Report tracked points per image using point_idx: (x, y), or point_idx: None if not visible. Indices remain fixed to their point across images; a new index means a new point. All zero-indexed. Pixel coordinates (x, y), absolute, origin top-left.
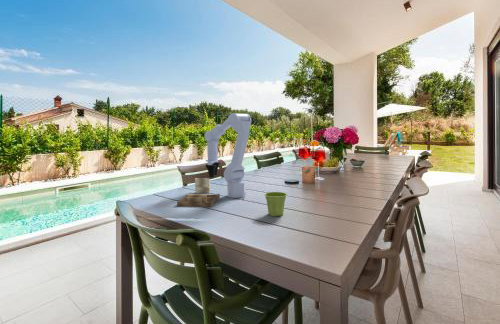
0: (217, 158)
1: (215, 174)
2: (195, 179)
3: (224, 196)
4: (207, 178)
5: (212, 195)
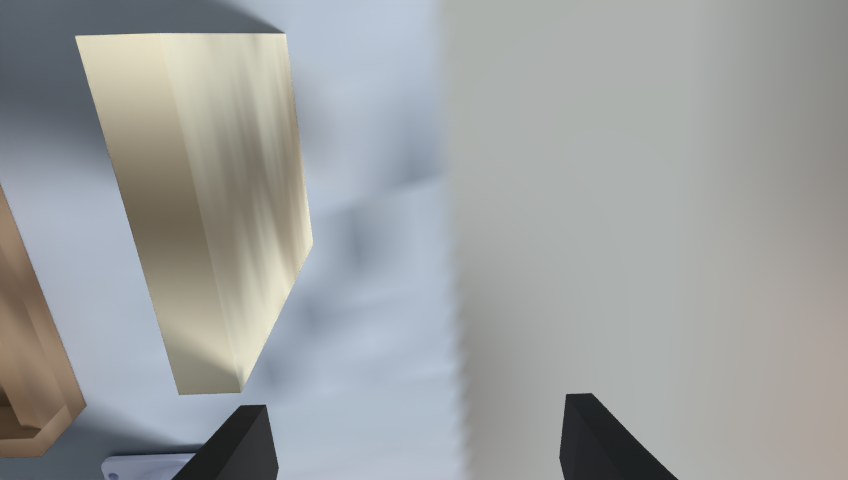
0: None
1: (565, 456)
2: (96, 51)
3: None
4: (201, 355)
5: (5, 375)
